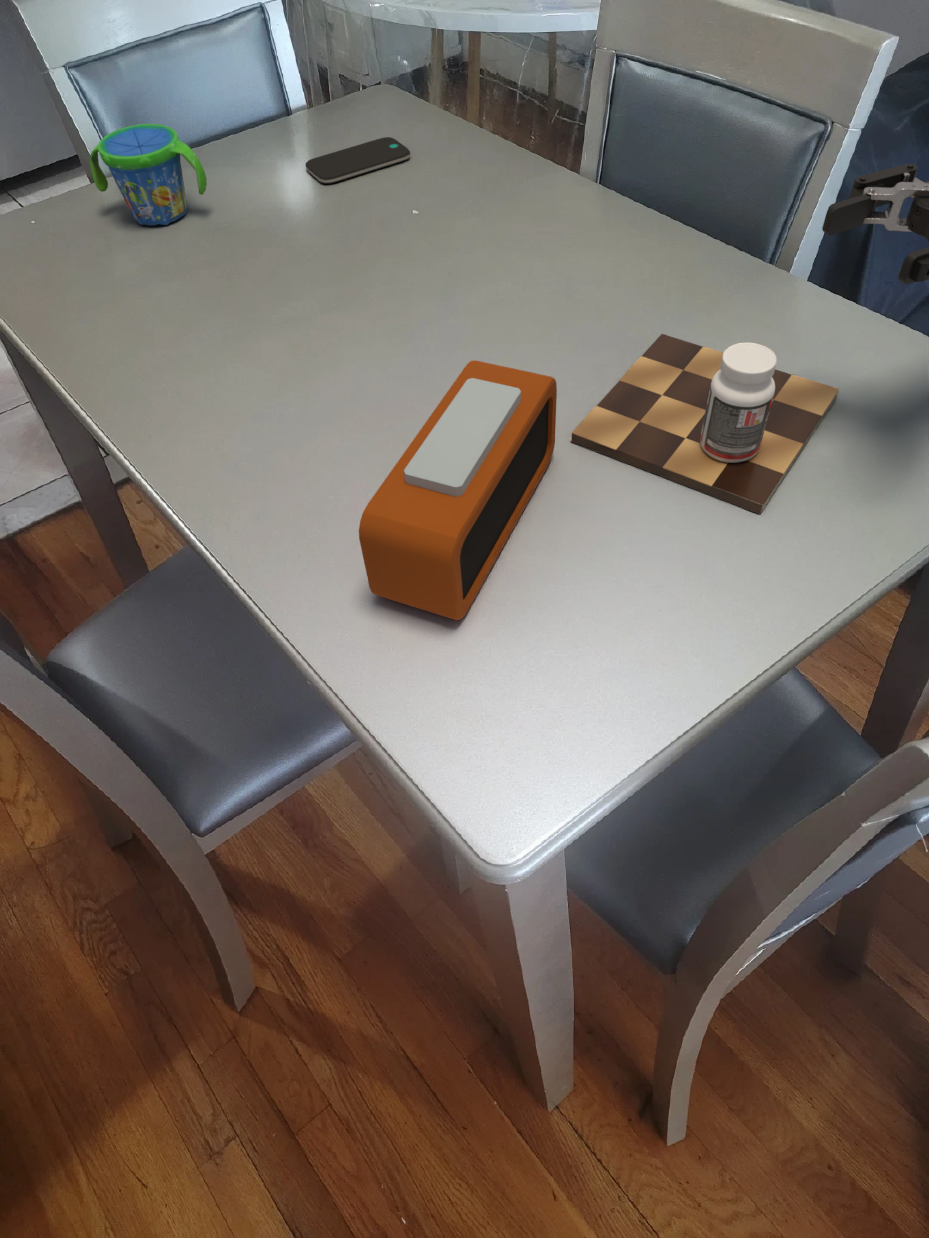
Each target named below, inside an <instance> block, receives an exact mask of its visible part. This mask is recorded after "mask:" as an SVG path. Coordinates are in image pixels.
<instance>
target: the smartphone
mask: <svg viewBox="0 0 929 1238" xmlns="http://www.w3.org/2000/svg"><path fill="white" fill-rule="evenodd" d="M410 158H411V150H410V149H409V148H408V147H406V146H405V145H404V144H402V143H401V142H399V141H398V139H395V138H393V137H391V136H386V137H380V138H377V139H373V140H370V141H367V142H363V143H360V144H357V145H353V146H350V147H347V148H343V149H340V150H337V151H333V152H330V153H326V154H324V155H320V156H317V157H313V158H311V159H308V160H307V161H306V162H305V169H306V171H307V172H308V173H309V174H311V175H312V176H313V177H314V178H315V179H316V180H317V181H318V182H320V183H322V184H325V185H329V184H335V183H338V182H341V181H342V182H343V181H345V180H348V179H351V178H354V177H355V178H356V177H357V176H361V175H364V174H367V173H370V172H374V171H377V170H380V169H384V168H387V167H390V166H393V165H396V164H400V163H404V162H405V161H407V160H409V159H410Z"/></svg>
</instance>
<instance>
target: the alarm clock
mask: <svg viewBox="0 0 929 1238" xmlns="http://www.w3.org/2000/svg"><path fill="white" fill-rule="evenodd" d="M557 385H558V384H557V380H556V378H554V377H553V376H552V375H551V376H550V375H545V374H540V373H535V372H532V371H528V370H527V371H526V370H523V369H516V368H513V367H508V366H504V365H499V364H493V363H490V362H484V361H481V360H475V359H474V360H469V362H468V363H466V364H465V366H464V368H463V369H462V370H461V372H460V373H459V374H458V376H457V378H455V380H454V382H453V383H452V385H450V387H449V389H448V390H447V392H446V393H445V394H444V396H443V397H442V399H441V400H440V401H439V403H438V404H437V405H436V407H435V409H434V410H433V411H432V413H431V414H430V415H429V417H428V418H427V420H426V421H425V422H424V424H423V425H422V427H421V428H420V430H419V431H418V432H417V434H415V435H416V436H415V437H414V438H413V440H412V441H411V442H410V443H409V445H408V446H407V448H406V449H405V450H404V452H403V454H402V455H401V456H400V458H399V459H398V461H397V462H396V463H395V465H394V466H393V467H392V469H391V470H390V472H389V473H388V474H387V476H386V478H384V480H383V482H381V484H380V486H379V487H378V489H376V492H375V493H374V494H373V496H372V497H371V499H370V500H369V501H368V503H367V504H366V506H365V508H364V510H363V512H362V515H361V518H360V520H359V527H358V539H359V544H360V549H361V554H362V559H363V563H364V564H363V565H364V568H365V572H366V578H367V582H368V583H367V584H368V587H369V590H370V592H371V593H372V594H373V595H375V596H377V597H380V598H384V599H388V600H389V601H390V600H391V601H393V602H397V603H400V604H403V605H406V606H410V607H413V608H415V609H419V610H422V611H424V612H425V611H426V612H428V613H432V614H436V615H438V616H442V617H445V618H448V619H452V620H454V621H460V620H462V619H463V618H464V617H465V616H466V614H467V613H468V611H469V610H470V608H471V606H472V604H473V602H474V601H475V599H476V597H477V595H478V593H479V592H480V590H481V589H482V586H483V585H484V583H485V581H486V579H487V577H488V576H489V573H490V572H491V570H492V568H493V566H494V565H495V562H496V561H497V559H498V557H499V555H500V554H501V552H502V551H503V548H504V546H505V544H506V543H507V542H508V540H509V538H510V535H511V533H512V532H513V530H514V528H515V527H516V524H517V523H518V521H519V519H520V518H521V516H522V514H523V512H524V510H525V508H526V506H527V505H528V503H529V502H530V500H531V497H532V496H533V494H534V492H535V490H536V488H537V487H538V485H539V483H540V481H541V480H542V478H543V476H544V473H545V472H546V471H547V469H548V467H549V465H550V463H551V461H552V457H553V455H554V450H555V444H556V443H555V442H556V425H557V424H556V423H557V422H556V420H557V399H558V397H557V396H558V393H557V392H558V389H557V388H558V387H557Z"/></svg>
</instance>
